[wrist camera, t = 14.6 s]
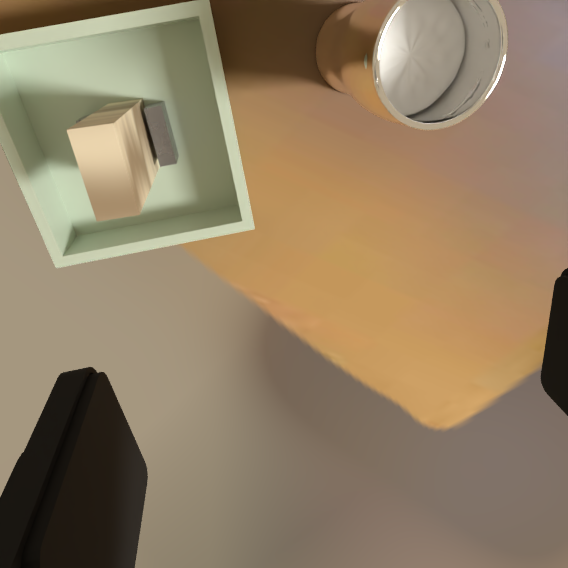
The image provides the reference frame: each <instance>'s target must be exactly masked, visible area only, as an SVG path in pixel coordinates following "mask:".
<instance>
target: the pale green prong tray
mask: <svg viewBox="0 0 568 568" xmlns="http://www.w3.org/2000/svg"><path fill="white" fill-rule="evenodd" d="M142 98H143V102H144V106H145V107H146V106H147V105H148V104H151V103H157V102H162V101H165V105H166V109H167V113H168V116H169V120H170V124H171V128H172V132H173V135H174V139H175V143H176V147H177V150H178V154H179V157H178V161H177V164H172V165H167V166H162V167H160V164H159V170H158V172H157V175H156V177H155V179H154V182H153V184H152V187H151V189H150V191H149V194H148V196H147V199H146V201H145V203H144V206H143V208H142V211H141V213H140V215H136V216H130V217H123V218H117V219H110V220H104V221H96V218H95V215H94V212H93V209H92V206H91V203H90V200H89V197H88V194H87V191H86V188H85V185H84V182H83V179H82V176H81V173H80V170H79V166H78V163H77V160H76V157H75V154H74V151H73V148H72V145H71V142H70V139H69V136H68V133H67V129H68V128H70V127H72V126H73V125H75V124H76V121H77V120H79V119H80V118H82V117H83V116H86V115H91V114H92V113H94V112H96V111H97V110H99V109H100V108H102V107H104V106H105V105H107V104H108V103H113V102H120V101H127V100H135V99H142ZM0 144H1V146H2V148H3V150H4V153H5V155H6V157H7V159H8V162H9V164H10V166H11V168H12V171H13V173H14V175H15V177H16V180H17V182H18V184H19V186H20V189H21V190H22V193H23V195H24V198H25V200H26V202H27V204H28V206H29V209H30V211H31V213H32V215H33V218H34V220H35V222H36V224H37V227H38V229H39V231H40V233H41V235H42V238H43V240H44V242H45V244H46V247H47V249H48V251H49V253H50V255H51V258H52V260H53V262H54V265H55V267H56V268H60V267H65V266H70V265H75V264H80V263H85V262H90V261H95V260H100V259H106V258H111V257H115V256H121V255H126V254H130V253H136V252H141V251H146V250H151V249H156V248H161V247H166V246H171V245H177V244H182V243H187V242H192V241H197V240H202V239H207V238H212V237H217V236H222V235H227V234H232V233H237V232H242V231H247V230H253V229H255V227H254V222H253V217H252V212H251V207H250V202H249V197H248V192H247V187H246V182H245V177H244V172H243V167H242V162H241V157H240V152H239V147H238V142H237V137H236V132H235V127H234V122H233V117H232V112H231V107H230V102H229V97H228V92H227V87H226V82H225V77H224V72H223V67H222V62H221V57H220V52H219V47H218V42H217V37H216V32H215V27H214V22H213V17H212V12H211V7H210V2H209V0H196V1H190V2H184V3H179V4H173V5H167V6H161V7H156V8H150V9H144V10H138V11H133V12H127V13H121V14H115V15H110V16H104V17H98V18H92V19H87V20H81V21H75V22H70V23H64V24H58V25H52V26H47V27H41V28H35V29H29V30H24V31H18V32H12V33H6V34H1V35H0ZM156 155H157V154H156ZM157 159H158V157H157ZM158 163H159V161H158Z"/></svg>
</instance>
